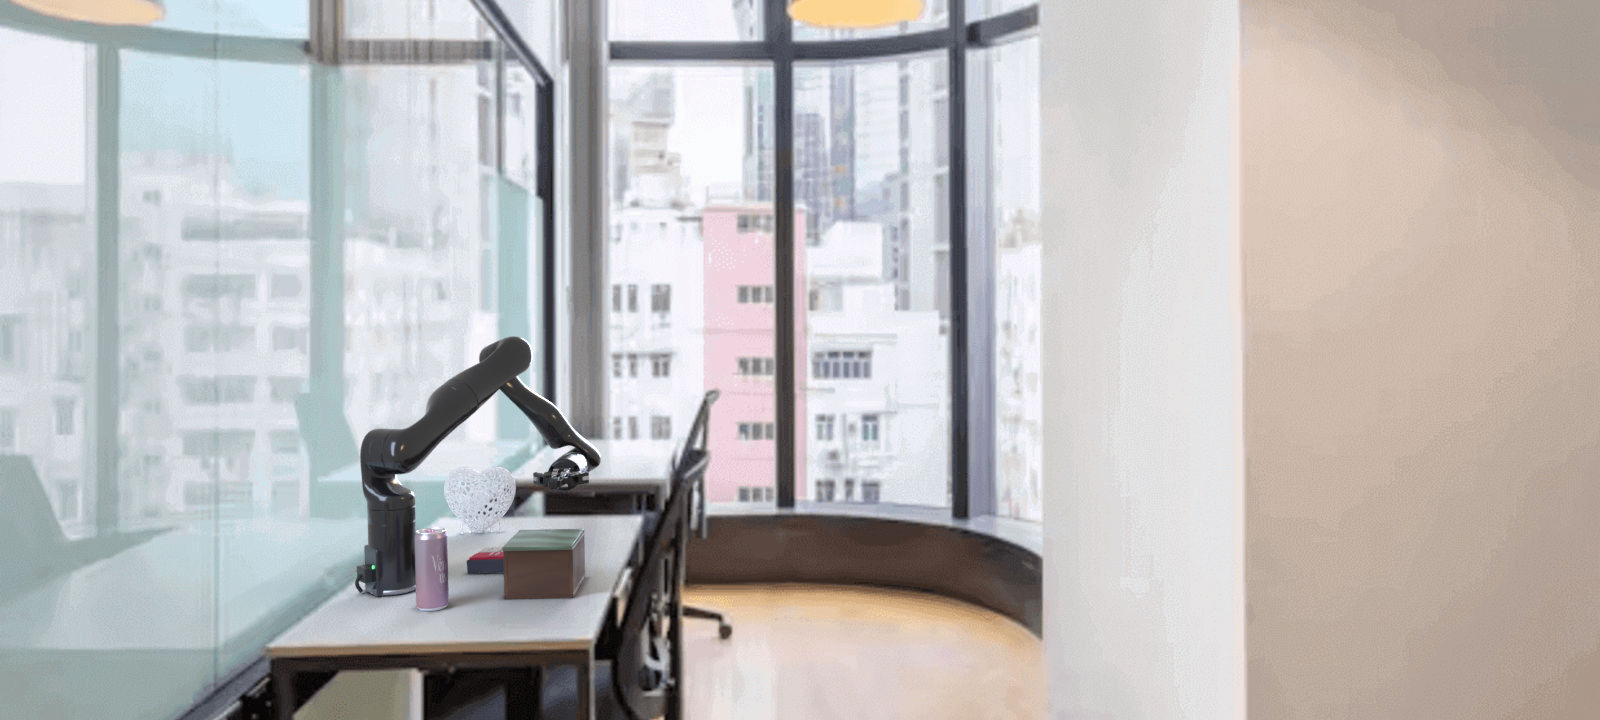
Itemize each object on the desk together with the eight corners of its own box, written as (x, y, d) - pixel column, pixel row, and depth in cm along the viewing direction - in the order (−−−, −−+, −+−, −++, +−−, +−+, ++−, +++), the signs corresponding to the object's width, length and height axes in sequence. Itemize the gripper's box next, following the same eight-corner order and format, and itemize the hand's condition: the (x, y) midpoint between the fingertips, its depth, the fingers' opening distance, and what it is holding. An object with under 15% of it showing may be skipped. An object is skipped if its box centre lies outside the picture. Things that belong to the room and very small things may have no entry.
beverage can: (437, 601, 211) (436, 526, 210) (455, 606, 207) (453, 529, 206) (410, 608, 206) (408, 531, 205) (427, 613, 202) (425, 535, 202)
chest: (573, 597, 213) (572, 549, 212) (504, 599, 212) (503, 550, 212) (585, 578, 228) (584, 532, 228) (520, 579, 228) (519, 533, 227)
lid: (571, 549, 211) (571, 545, 211) (502, 551, 211) (502, 547, 211) (584, 532, 228) (584, 528, 228) (519, 533, 227) (519, 529, 227)
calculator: (483, 546, 243) (548, 543, 242) (484, 565, 243) (549, 562, 242) (465, 557, 232) (533, 554, 231) (466, 577, 232) (534, 574, 231)
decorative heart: (439, 538, 270) (438, 470, 269) (450, 529, 281) (449, 464, 280) (512, 536, 271) (510, 469, 270) (520, 527, 282) (519, 463, 281)
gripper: (538, 456, 247) (522, 467, 230) (596, 455, 248) (584, 466, 230) (539, 488, 247) (523, 502, 230) (596, 487, 248) (585, 501, 231)
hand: (554, 484), depth 230 cm, fingers closed
